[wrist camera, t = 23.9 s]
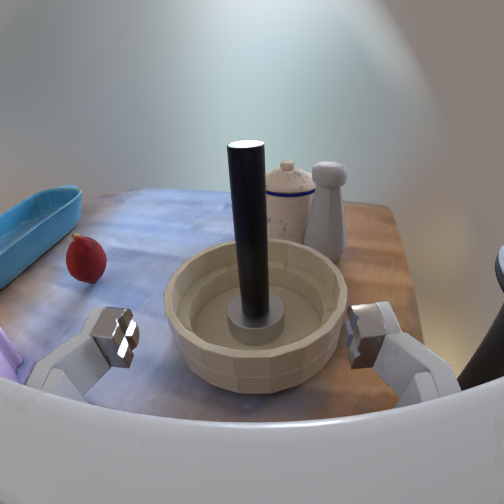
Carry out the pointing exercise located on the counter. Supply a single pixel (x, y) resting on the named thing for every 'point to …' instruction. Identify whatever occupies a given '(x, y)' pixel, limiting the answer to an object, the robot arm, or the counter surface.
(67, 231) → the casserole dish
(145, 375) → the counter surface
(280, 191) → the teacup with lid
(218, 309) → the bowl
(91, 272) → the onion
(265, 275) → the black tall cylinder post
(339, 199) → the salt shaker
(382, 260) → the counter surface
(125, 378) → the counter surface
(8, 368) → the clip
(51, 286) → the counter surface
